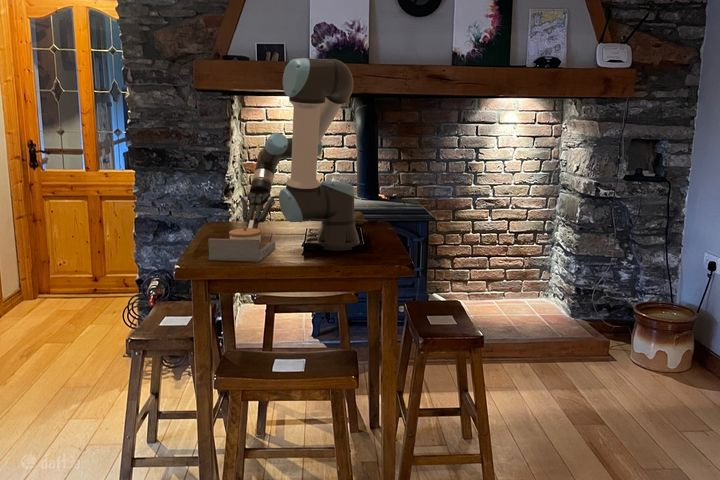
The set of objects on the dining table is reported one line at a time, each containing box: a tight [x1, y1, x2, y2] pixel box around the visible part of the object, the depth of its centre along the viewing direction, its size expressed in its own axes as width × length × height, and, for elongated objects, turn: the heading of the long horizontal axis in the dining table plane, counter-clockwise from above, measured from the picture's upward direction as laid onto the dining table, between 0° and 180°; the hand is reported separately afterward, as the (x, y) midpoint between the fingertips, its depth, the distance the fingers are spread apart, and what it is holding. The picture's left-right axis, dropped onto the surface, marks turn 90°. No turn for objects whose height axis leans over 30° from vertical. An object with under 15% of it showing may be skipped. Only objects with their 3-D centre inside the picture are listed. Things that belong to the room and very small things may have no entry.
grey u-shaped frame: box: [207, 237, 276, 263], centre depth 219 cm, size 17×18×7 cm
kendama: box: [354, 210, 369, 227], centre depth 267 cm, size 6×10×20 cm
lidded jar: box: [228, 225, 262, 243], centre depth 221 cm, size 11×11×9 cm
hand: (249, 237), depth 227 cm, fingers closed
